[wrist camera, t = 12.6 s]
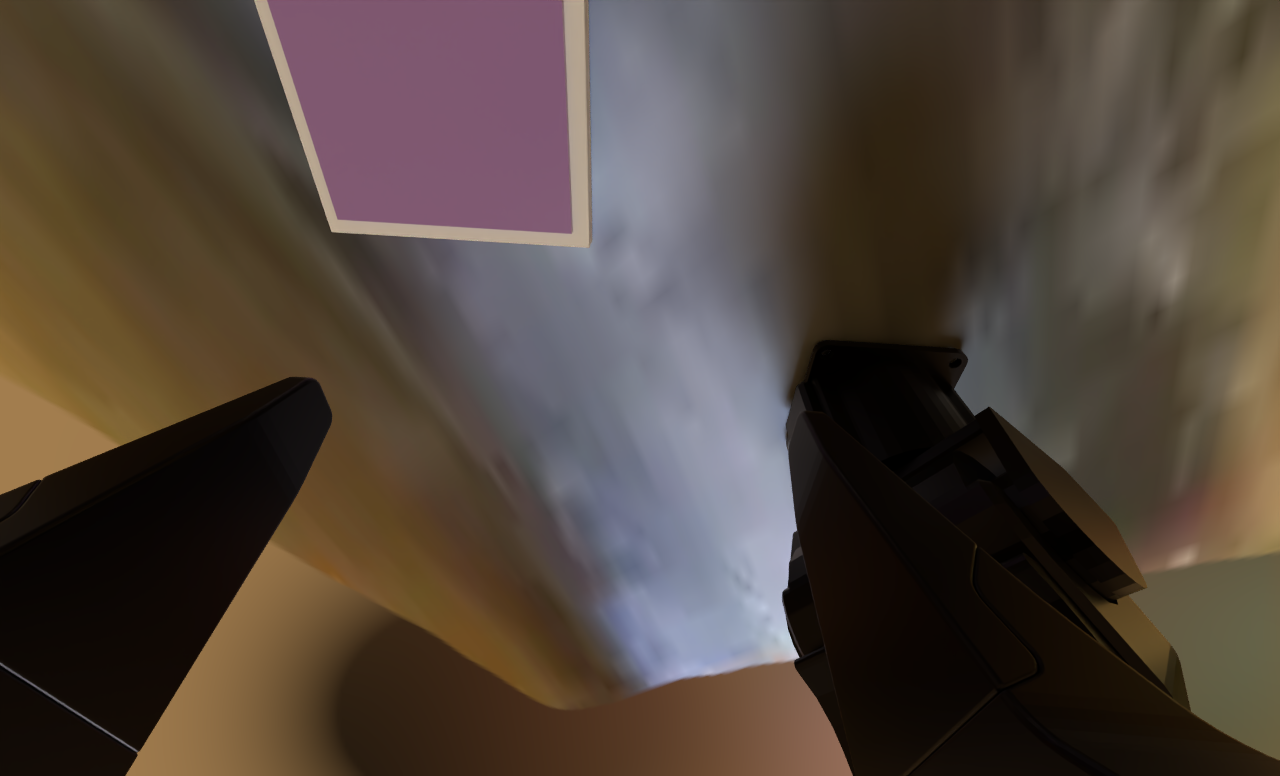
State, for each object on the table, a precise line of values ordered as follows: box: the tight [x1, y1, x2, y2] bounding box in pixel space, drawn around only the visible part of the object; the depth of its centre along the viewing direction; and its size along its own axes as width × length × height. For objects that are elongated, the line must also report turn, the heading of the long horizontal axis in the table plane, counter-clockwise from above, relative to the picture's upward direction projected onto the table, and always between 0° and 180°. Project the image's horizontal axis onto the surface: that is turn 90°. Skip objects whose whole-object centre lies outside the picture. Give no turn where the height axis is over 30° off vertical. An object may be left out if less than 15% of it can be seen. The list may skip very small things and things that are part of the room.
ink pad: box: [254, 0, 592, 248], centre depth 17 cm, size 10×8×1 cm
